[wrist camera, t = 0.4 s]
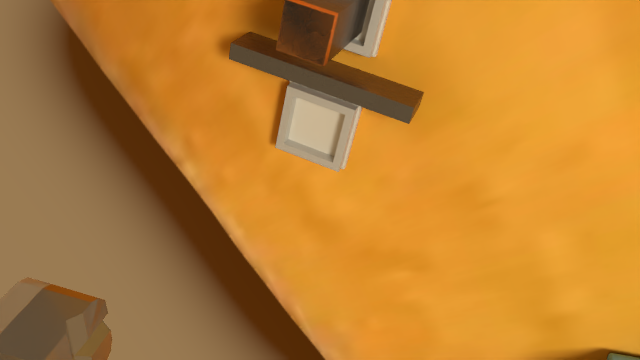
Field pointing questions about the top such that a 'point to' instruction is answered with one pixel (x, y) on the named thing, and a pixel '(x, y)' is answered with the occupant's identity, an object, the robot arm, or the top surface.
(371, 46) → the grey square frame
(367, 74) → the door edge rail
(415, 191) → the top surface
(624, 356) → the data package
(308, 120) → the socket
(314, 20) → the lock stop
